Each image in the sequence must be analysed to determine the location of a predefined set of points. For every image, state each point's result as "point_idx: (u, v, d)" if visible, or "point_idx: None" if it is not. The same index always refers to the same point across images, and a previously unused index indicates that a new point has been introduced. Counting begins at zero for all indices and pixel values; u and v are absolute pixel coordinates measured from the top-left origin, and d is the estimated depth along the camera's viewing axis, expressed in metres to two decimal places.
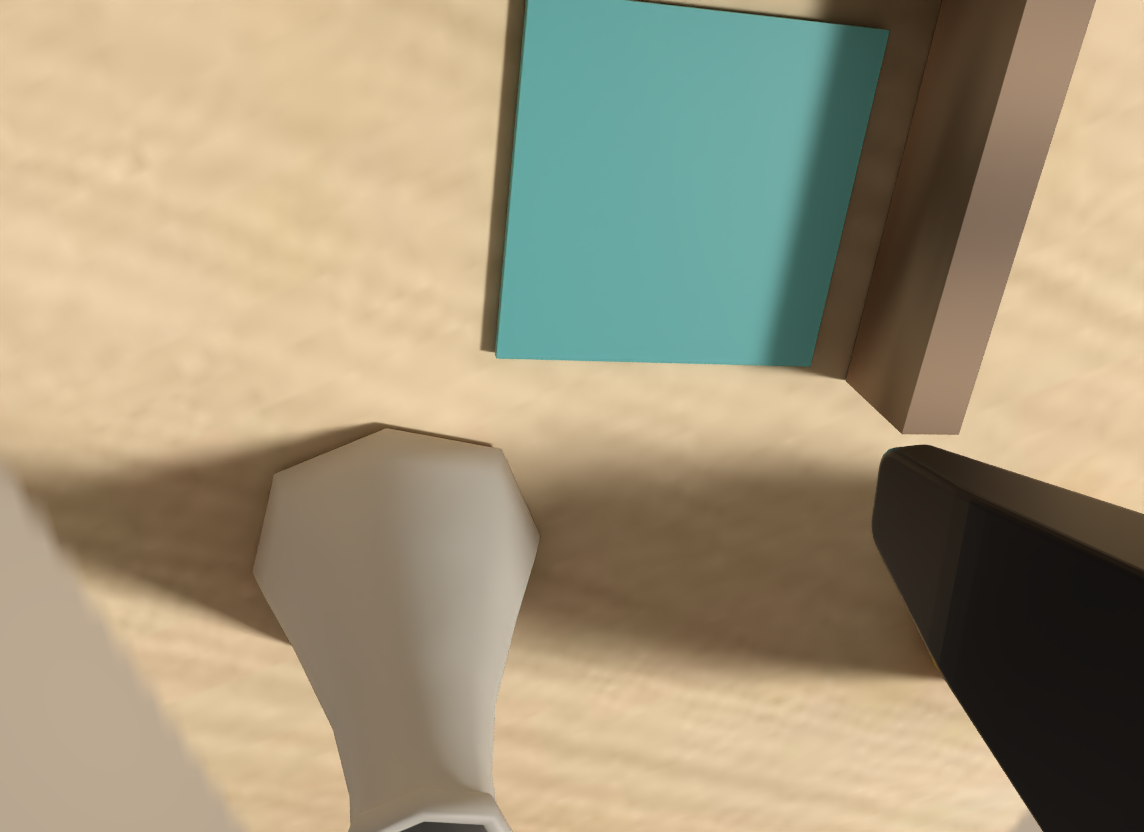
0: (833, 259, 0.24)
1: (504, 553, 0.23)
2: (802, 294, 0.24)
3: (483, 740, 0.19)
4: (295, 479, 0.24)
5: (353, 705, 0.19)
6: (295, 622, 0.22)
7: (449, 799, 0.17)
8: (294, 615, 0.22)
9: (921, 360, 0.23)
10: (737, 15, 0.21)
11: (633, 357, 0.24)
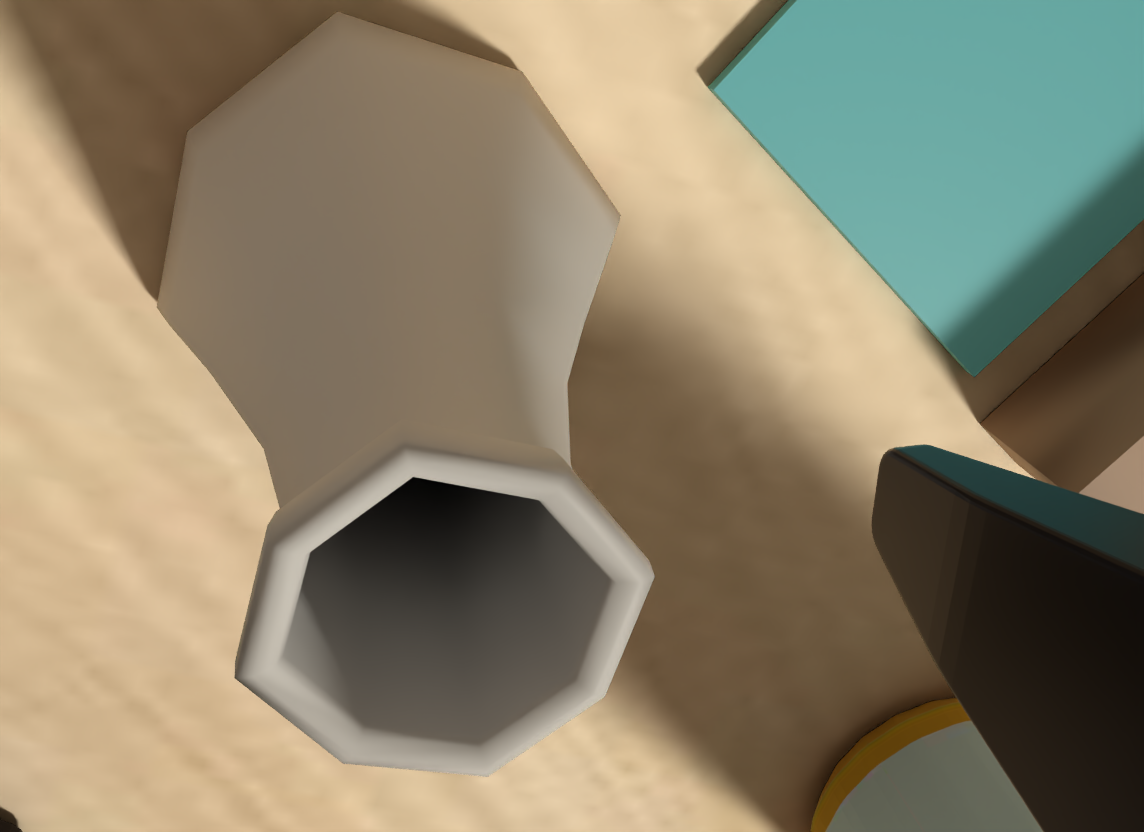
0: (1080, 272, 0.19)
1: None
2: (1032, 286, 0.19)
3: None
4: (366, 36, 0.15)
5: (391, 303, 0.10)
6: (267, 194, 0.13)
7: (594, 497, 0.08)
8: (271, 184, 0.13)
9: None
10: None
11: (838, 218, 0.18)
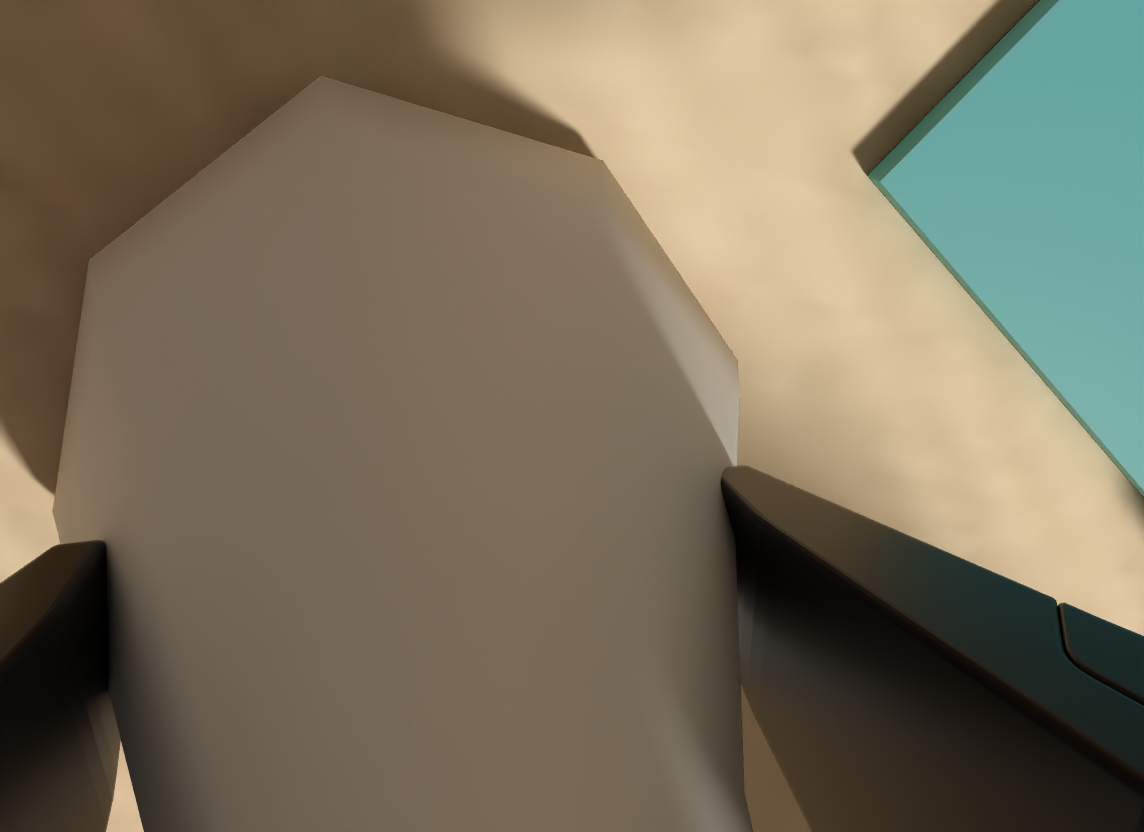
0: None
1: None
2: None
3: None
4: (367, 114, 0.09)
5: (426, 757, 0.05)
6: (198, 404, 0.07)
7: None
8: (205, 385, 0.07)
9: None
10: None
11: (1038, 353, 0.12)
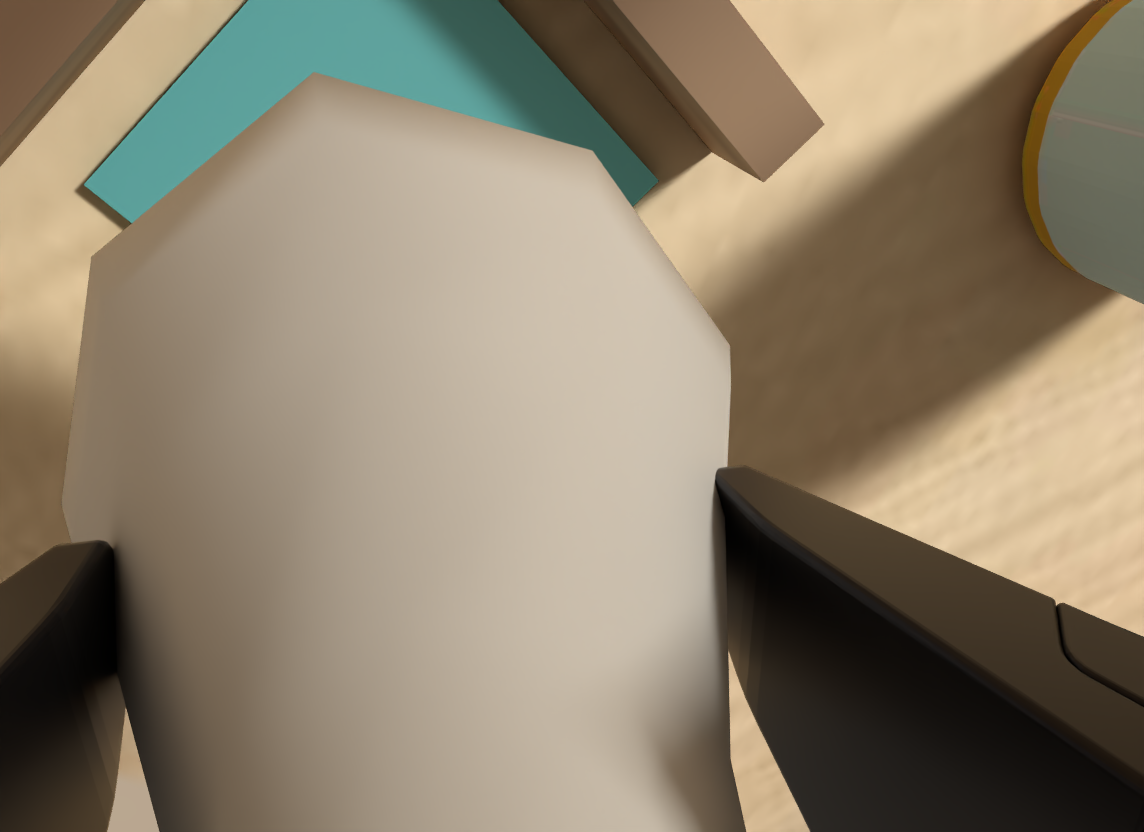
0: None
1: None
2: (576, 138, 0.20)
3: None
4: (359, 109, 0.09)
5: (416, 719, 0.05)
6: (197, 393, 0.08)
7: None
8: (205, 375, 0.08)
9: (702, 109, 0.18)
10: (242, 11, 0.18)
11: None
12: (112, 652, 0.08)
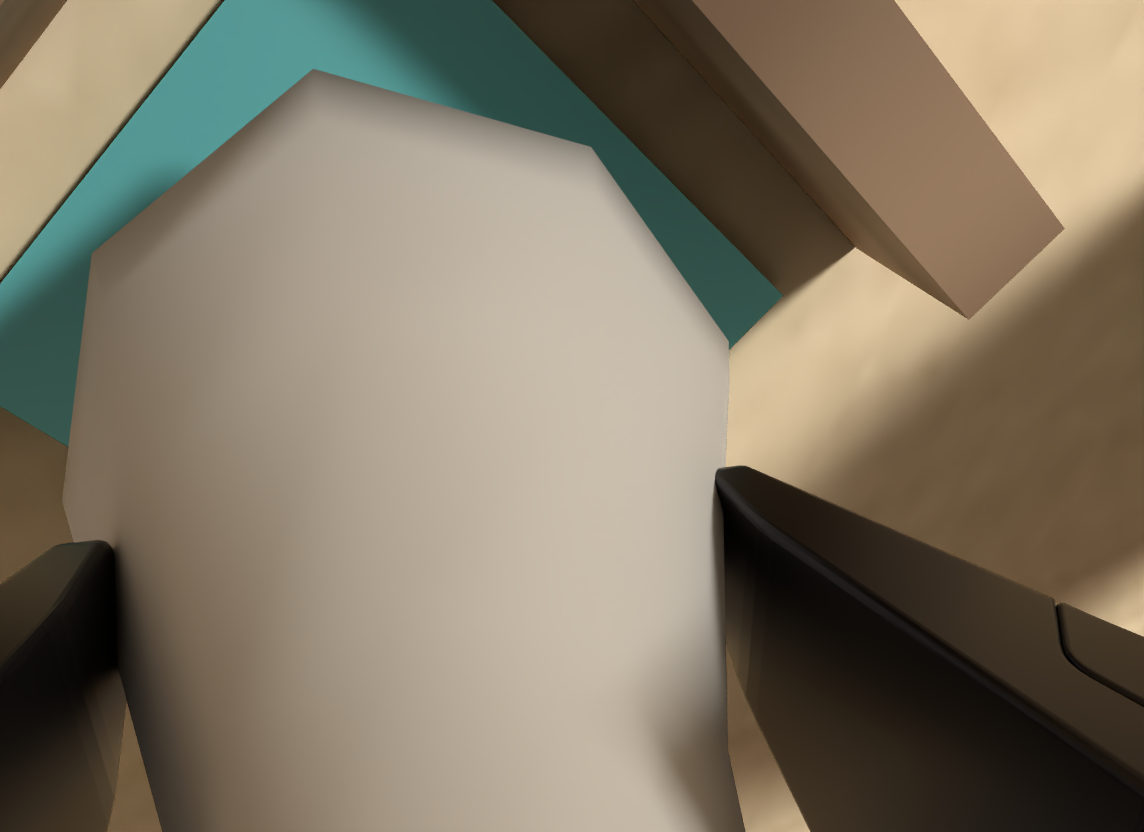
0: (654, 165, 0.13)
1: None
2: (665, 246, 0.14)
3: None
4: (358, 104, 0.10)
5: (414, 708, 0.05)
6: (198, 387, 0.08)
7: None
8: (205, 369, 0.08)
9: (882, 220, 0.11)
10: (153, 97, 0.12)
11: None
12: (112, 652, 0.08)
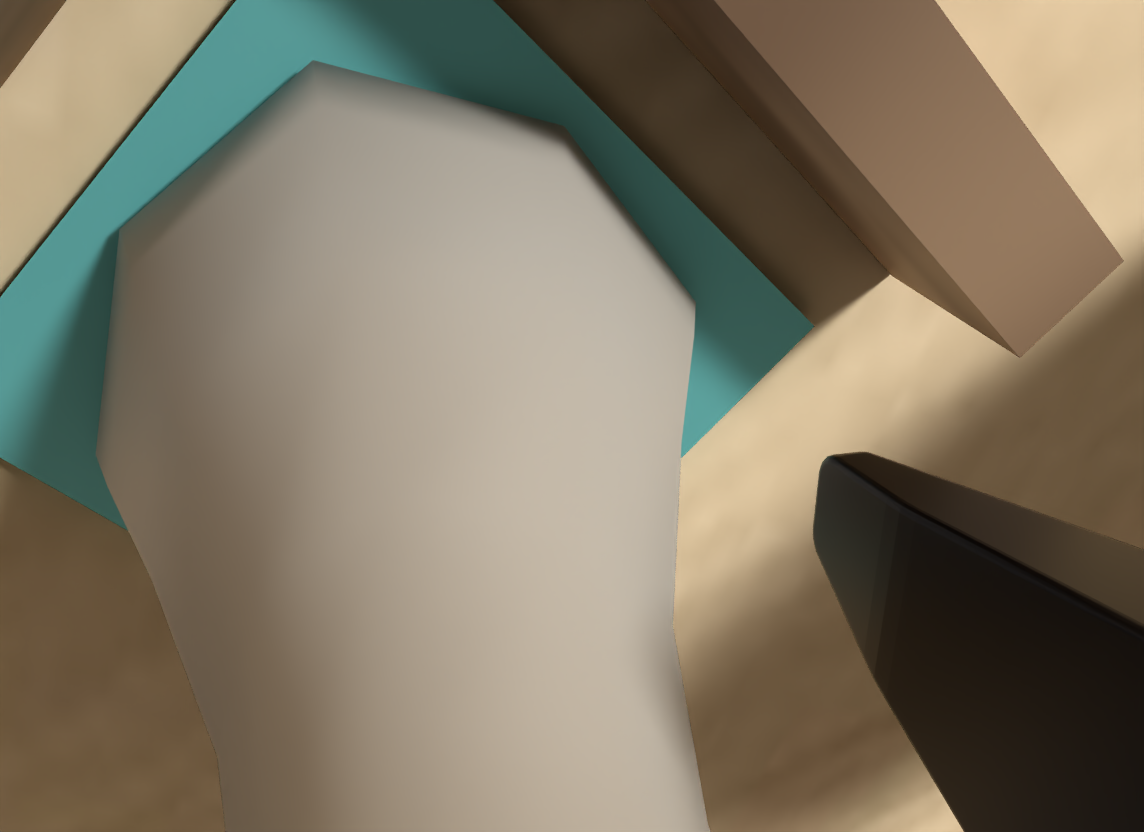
0: (680, 190, 0.13)
1: None
2: (691, 275, 0.13)
3: None
4: (354, 91, 0.11)
5: (402, 567, 0.06)
6: (218, 336, 0.09)
7: None
8: (224, 321, 0.09)
9: (929, 253, 0.11)
10: (147, 120, 0.11)
11: None
12: None
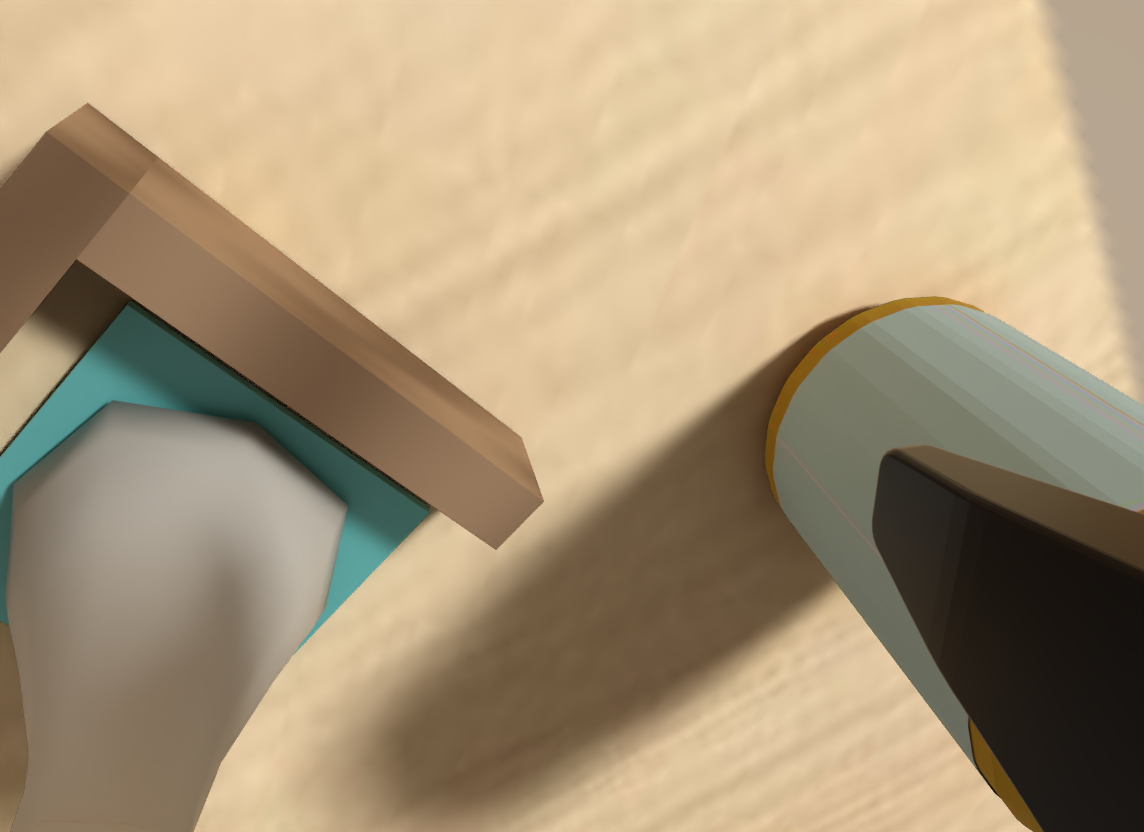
0: (335, 445, 0.23)
1: (300, 609, 0.21)
2: (347, 489, 0.23)
3: (202, 797, 0.17)
4: (133, 417, 0.21)
5: (87, 691, 0.16)
6: (47, 564, 0.19)
7: None
8: (50, 556, 0.19)
9: (429, 503, 0.21)
10: (27, 428, 0.21)
11: None
12: None
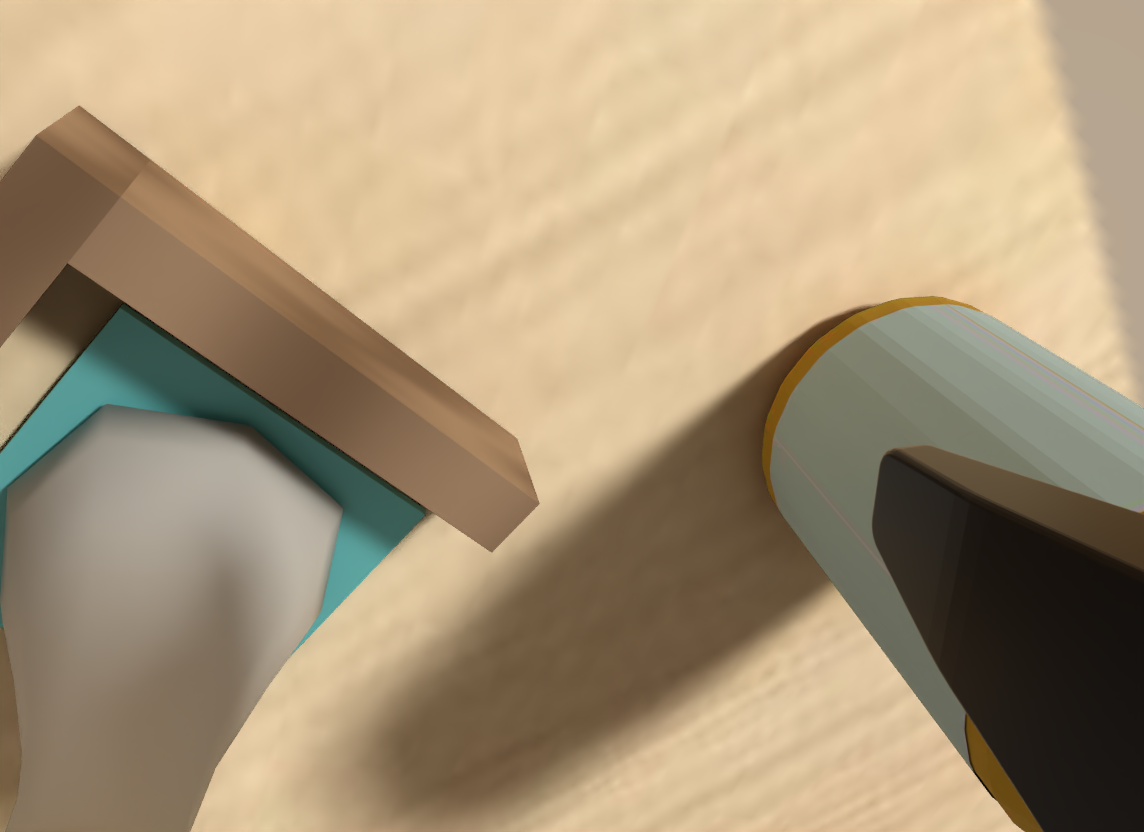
0: (330, 447, 0.23)
1: (295, 612, 0.21)
2: (343, 491, 0.23)
3: (196, 804, 0.16)
4: (126, 421, 0.21)
5: (80, 697, 0.16)
6: (40, 569, 0.19)
7: None
8: (44, 561, 0.19)
9: (424, 506, 0.20)
10: (21, 432, 0.21)
11: None
12: None
